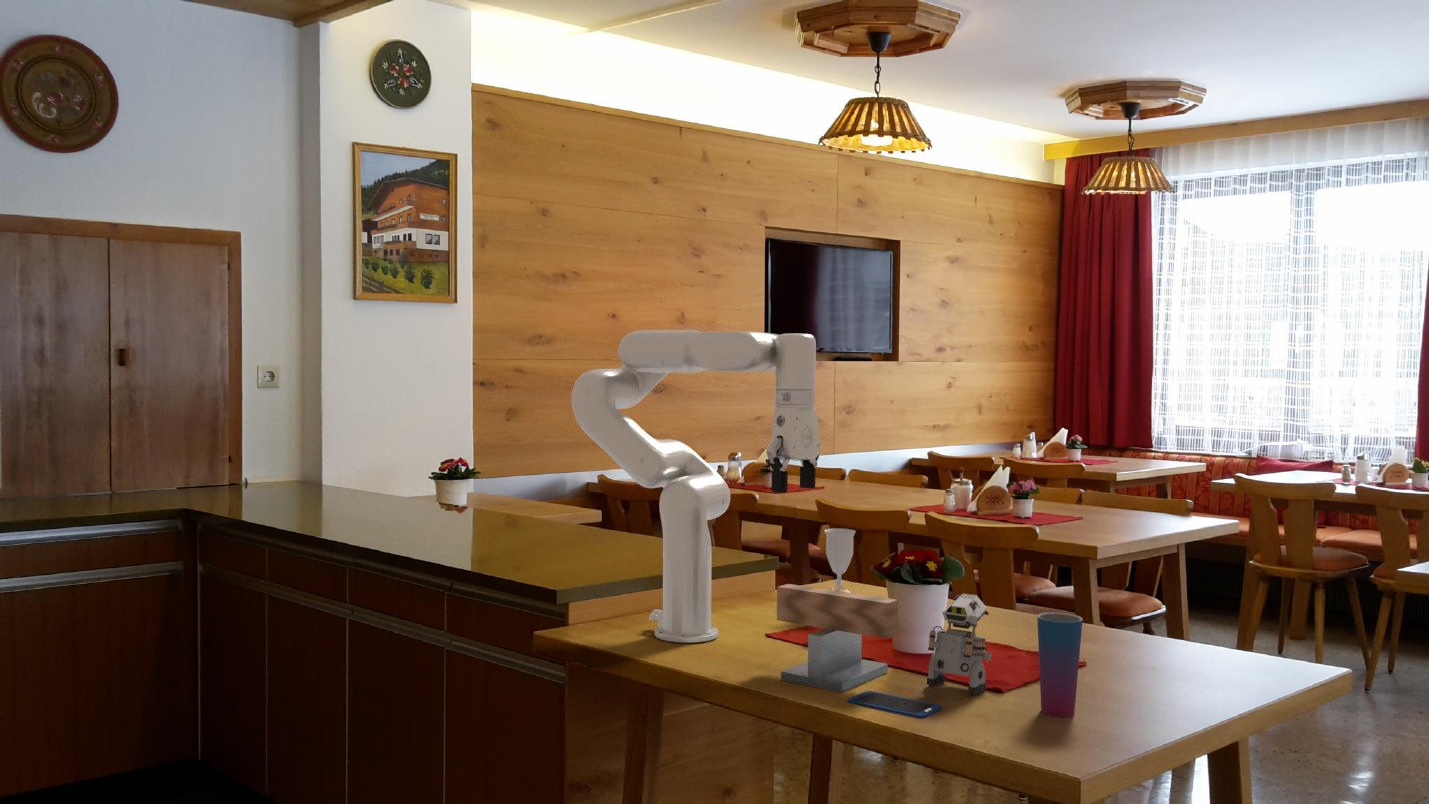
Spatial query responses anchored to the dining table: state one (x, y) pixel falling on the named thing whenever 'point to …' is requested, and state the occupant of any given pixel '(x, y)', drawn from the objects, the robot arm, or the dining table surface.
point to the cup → (1058, 662)
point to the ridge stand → (834, 662)
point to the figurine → (960, 645)
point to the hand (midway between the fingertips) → (793, 490)
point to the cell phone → (895, 704)
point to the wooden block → (837, 610)
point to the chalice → (839, 550)
